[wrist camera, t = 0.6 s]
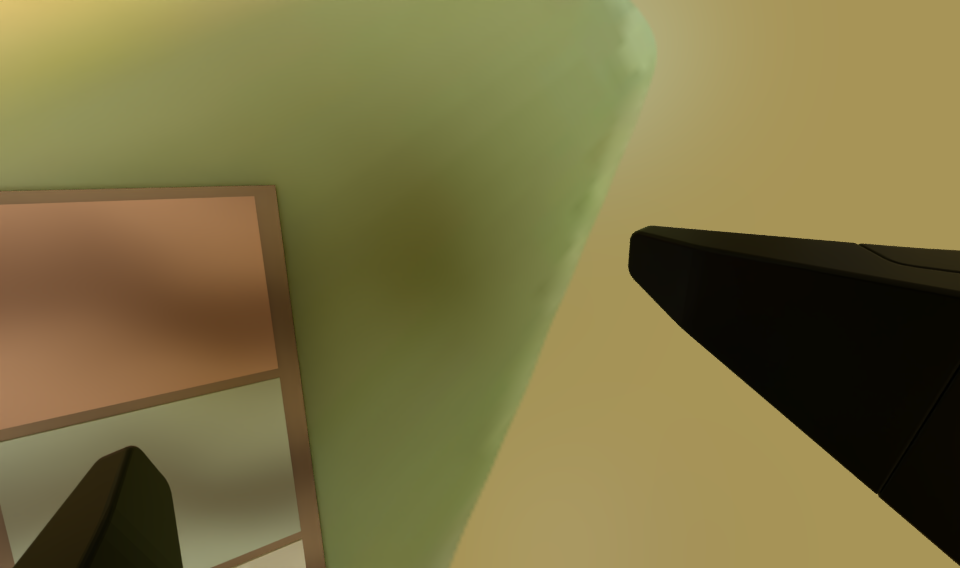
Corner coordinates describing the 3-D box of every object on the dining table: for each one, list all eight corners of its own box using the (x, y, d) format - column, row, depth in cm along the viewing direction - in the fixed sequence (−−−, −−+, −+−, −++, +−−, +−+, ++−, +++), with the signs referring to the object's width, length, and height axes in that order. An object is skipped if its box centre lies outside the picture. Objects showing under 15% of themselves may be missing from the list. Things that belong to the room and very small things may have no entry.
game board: (333, 655, 22) (340, 673, 21) (56, 812, 17) (48, 846, 16) (270, 187, 19) (275, 184, 18) (-100, 196, 13) (-120, 193, 12)
